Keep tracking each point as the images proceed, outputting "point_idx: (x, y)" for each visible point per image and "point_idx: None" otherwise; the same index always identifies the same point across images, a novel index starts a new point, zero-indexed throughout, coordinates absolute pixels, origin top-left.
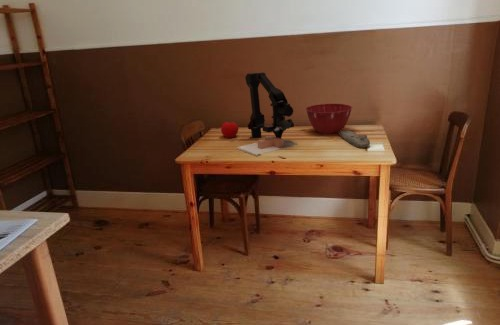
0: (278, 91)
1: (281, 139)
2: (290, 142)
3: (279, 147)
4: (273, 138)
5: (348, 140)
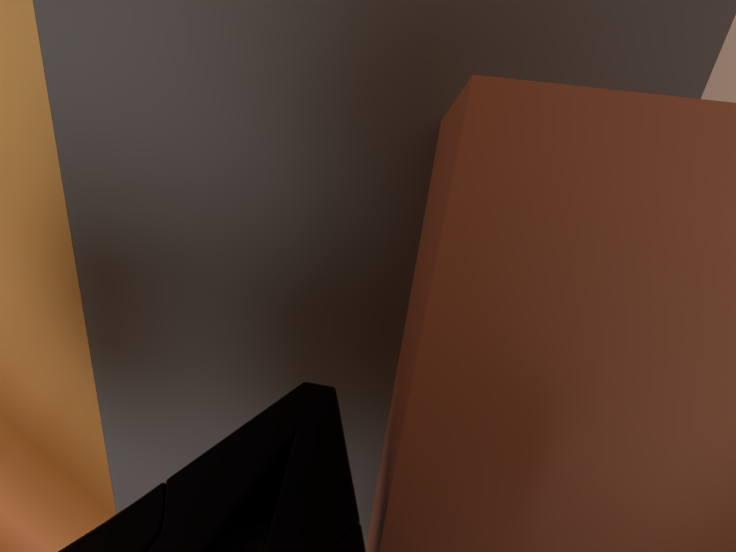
0: None
1: (622, 104)
2: (110, 213)
3: None
4: (617, 542)
5: None
